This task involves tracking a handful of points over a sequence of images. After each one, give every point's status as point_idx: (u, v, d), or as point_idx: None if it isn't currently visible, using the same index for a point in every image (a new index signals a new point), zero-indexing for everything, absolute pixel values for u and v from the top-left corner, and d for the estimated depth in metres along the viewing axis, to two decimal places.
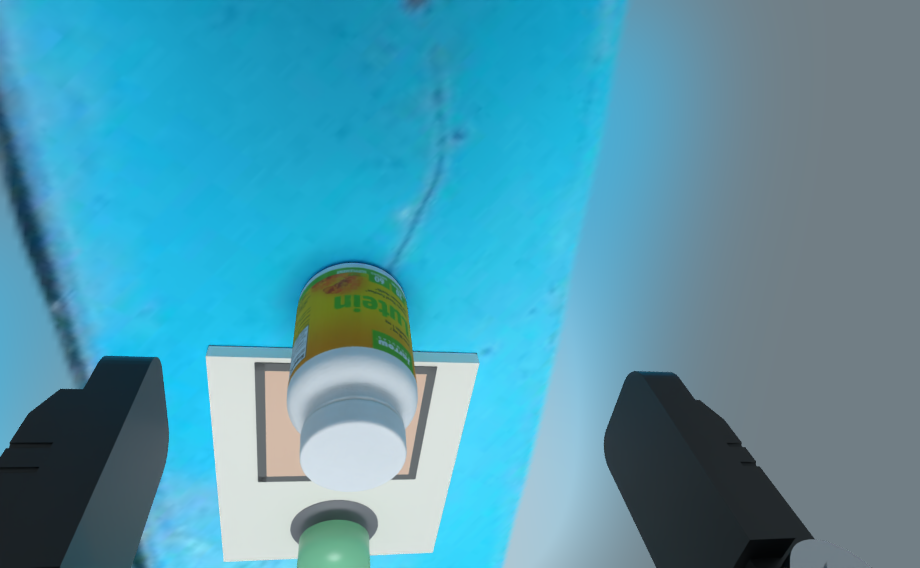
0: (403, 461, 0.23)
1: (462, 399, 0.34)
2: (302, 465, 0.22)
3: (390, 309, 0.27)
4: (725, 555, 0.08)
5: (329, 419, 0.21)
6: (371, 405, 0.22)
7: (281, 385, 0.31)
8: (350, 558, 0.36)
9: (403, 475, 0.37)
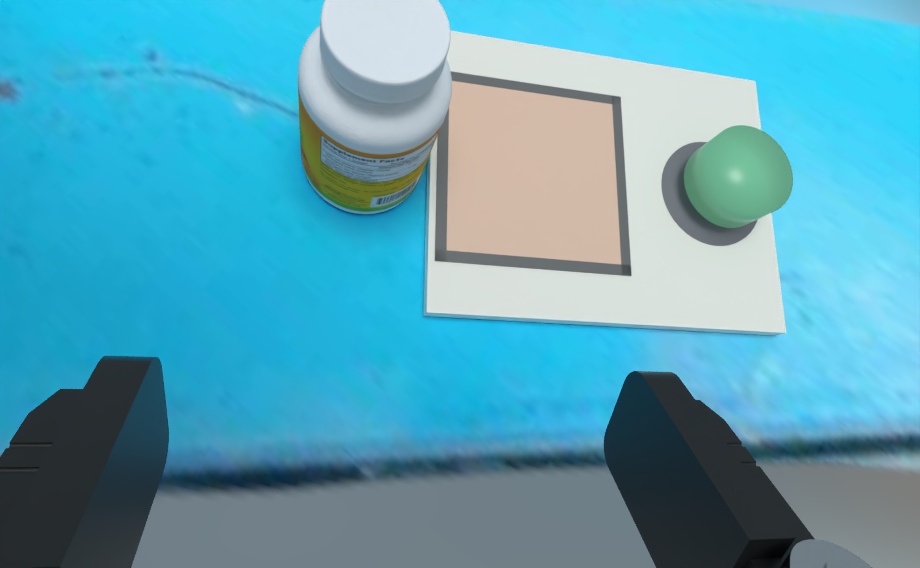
0: None
1: (488, 45, 0.29)
2: (396, 81, 0.18)
3: None
4: (725, 555, 0.08)
5: (326, 50, 0.18)
6: None
7: (471, 236, 0.27)
8: (727, 147, 0.28)
9: (615, 110, 0.30)
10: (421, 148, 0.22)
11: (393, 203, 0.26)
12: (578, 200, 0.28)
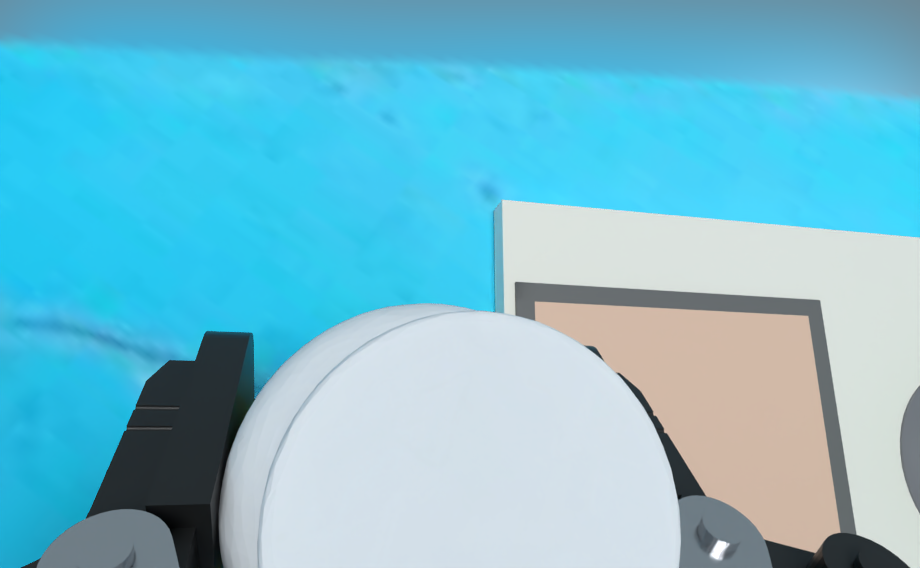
0: (496, 319, 0.06)
1: (597, 224, 0.17)
2: None
3: None
4: None
5: None
6: None
7: None
8: None
9: (813, 325, 0.17)
10: None
11: None
12: (772, 515, 0.16)
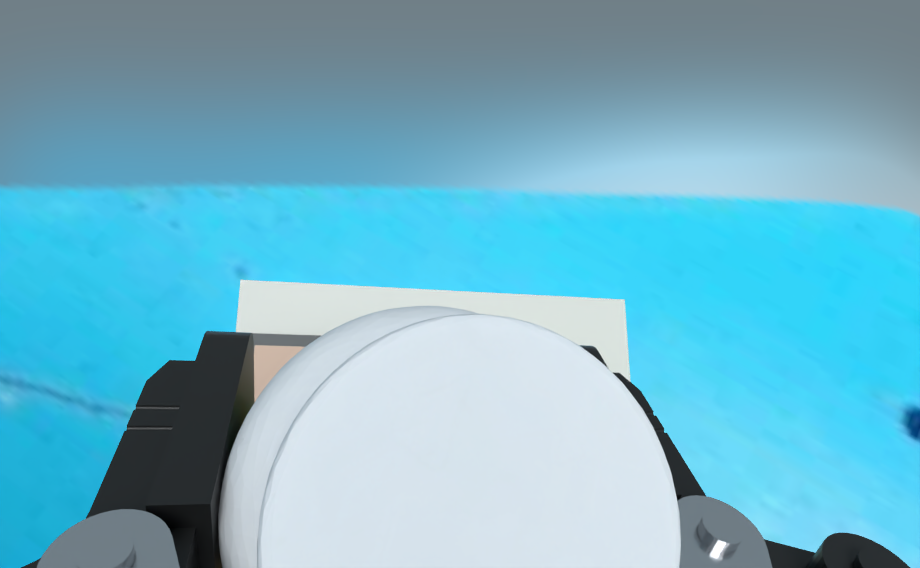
0: (496, 321, 0.06)
1: (306, 293, 0.26)
2: None
3: None
4: None
5: None
6: None
7: None
8: None
9: None
10: None
11: None
12: None
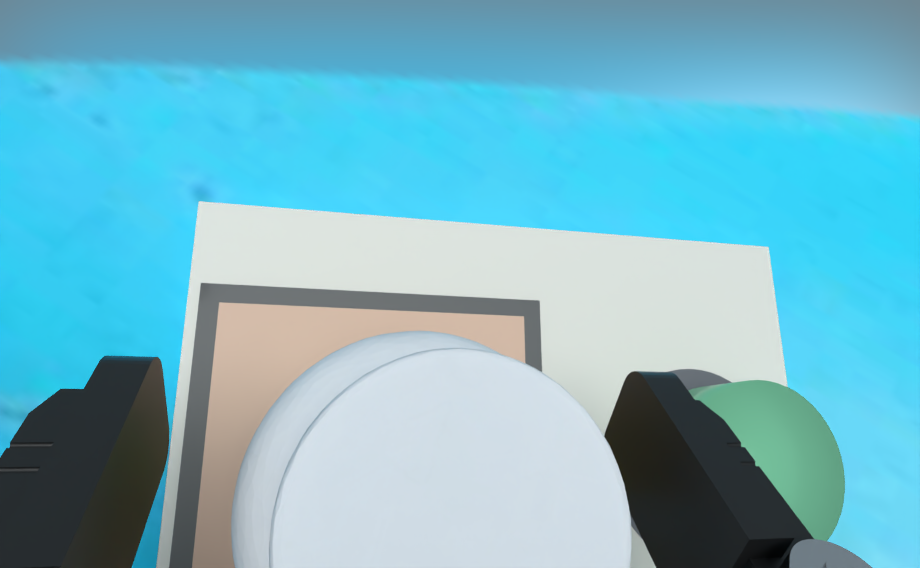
0: (474, 355, 0.07)
1: (302, 225, 0.17)
2: None
3: None
4: (724, 555, 0.08)
5: None
6: None
7: None
8: None
9: (531, 325, 0.18)
10: None
11: None
12: None
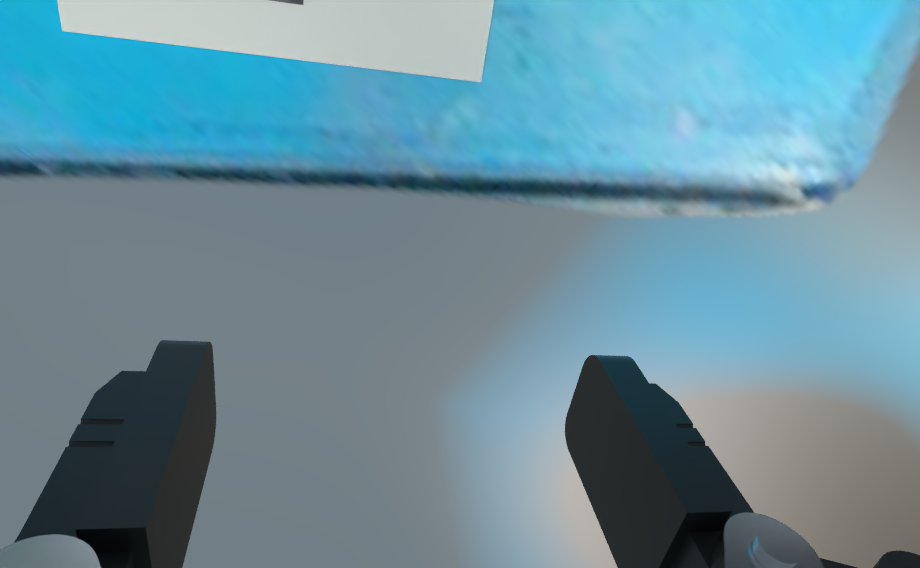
0: None
1: None
2: None
3: None
4: (666, 529, 0.08)
5: None
6: None
7: None
8: None
9: None
10: None
11: None
12: None
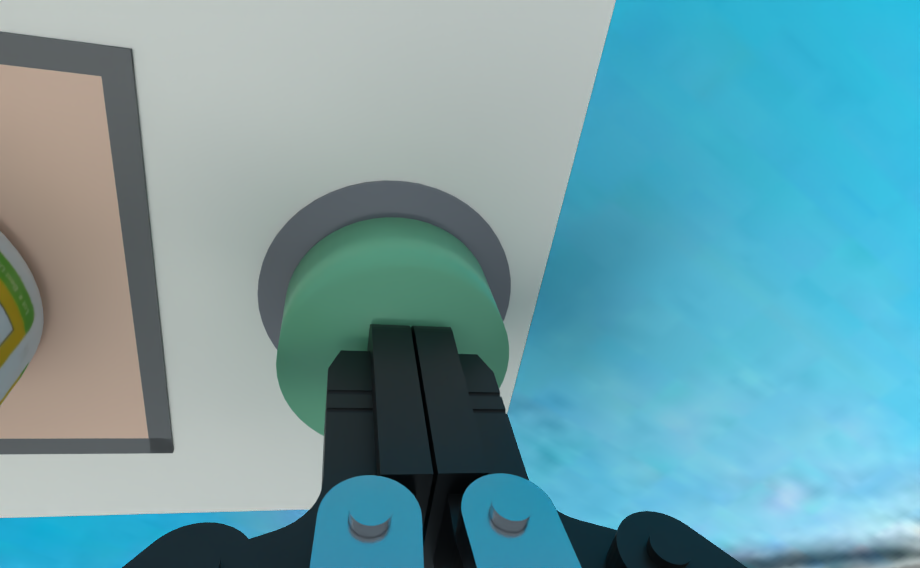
0: None
1: None
2: None
3: None
4: (430, 492, 0.08)
5: None
6: None
7: None
8: (335, 324, 0.11)
9: (120, 90, 0.10)
10: None
11: None
12: None
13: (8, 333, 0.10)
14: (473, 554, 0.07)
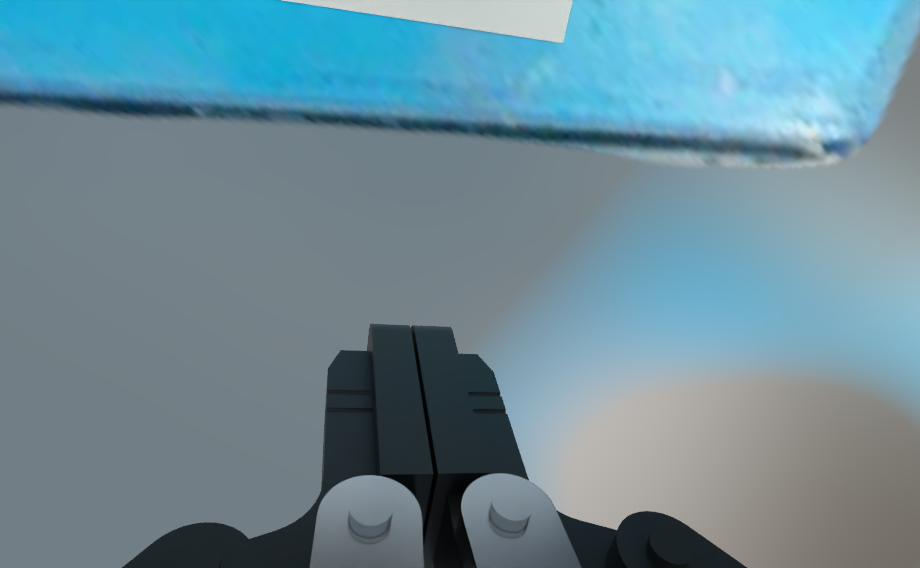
0: None
1: None
2: None
3: None
4: (430, 492, 0.08)
5: None
6: None
7: None
8: None
9: None
10: None
11: None
12: None
13: None
14: (473, 554, 0.07)
